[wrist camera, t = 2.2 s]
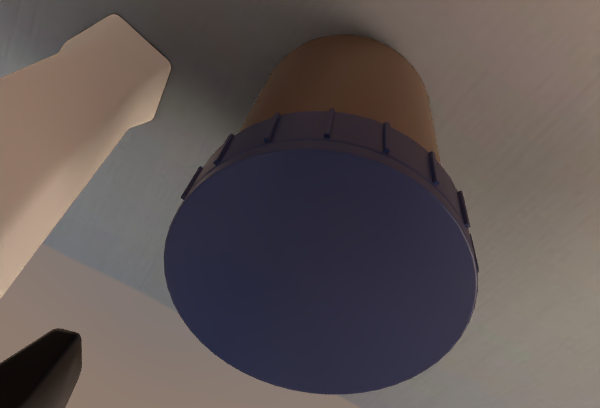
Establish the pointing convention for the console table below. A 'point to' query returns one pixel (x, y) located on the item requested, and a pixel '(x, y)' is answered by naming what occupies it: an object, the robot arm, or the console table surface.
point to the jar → (349, 86)
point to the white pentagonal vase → (68, 128)
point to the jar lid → (323, 254)
